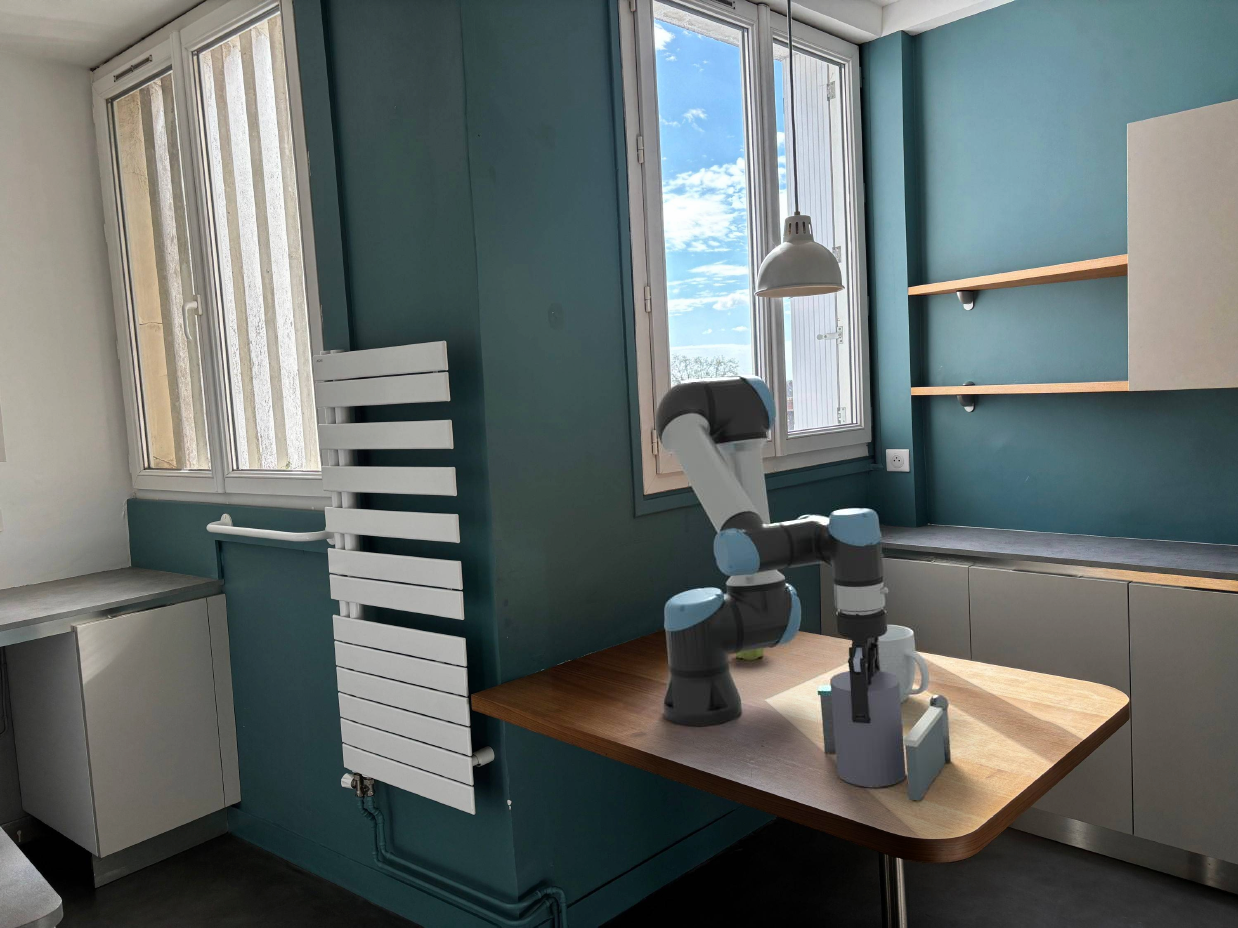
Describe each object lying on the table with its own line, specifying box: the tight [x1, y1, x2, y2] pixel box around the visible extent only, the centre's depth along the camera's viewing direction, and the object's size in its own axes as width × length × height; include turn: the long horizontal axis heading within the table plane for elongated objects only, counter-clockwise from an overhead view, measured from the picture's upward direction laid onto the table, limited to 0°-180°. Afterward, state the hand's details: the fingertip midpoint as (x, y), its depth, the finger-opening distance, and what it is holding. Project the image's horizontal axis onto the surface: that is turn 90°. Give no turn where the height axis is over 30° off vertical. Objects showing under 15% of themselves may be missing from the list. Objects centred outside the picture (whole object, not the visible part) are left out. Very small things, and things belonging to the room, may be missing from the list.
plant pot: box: [735, 648, 765, 661], centre depth 201 cm, size 9×9×9 cm
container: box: [829, 670, 907, 788], centre depth 135 cm, size 10×10×15 cm
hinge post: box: [929, 694, 952, 765], centre depth 137 cm, size 3×3×11 cm
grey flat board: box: [903, 705, 946, 802], centre depth 130 cm, size 14×2×9 cm, turn 145°
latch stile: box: [817, 684, 836, 755], centre depth 145 cm, size 3×3×11 cm
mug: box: [878, 624, 930, 703], centre depth 164 cm, size 15×11×13 cm
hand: (871, 751), depth 136 cm, fingers closed on container, 7 cm apart
